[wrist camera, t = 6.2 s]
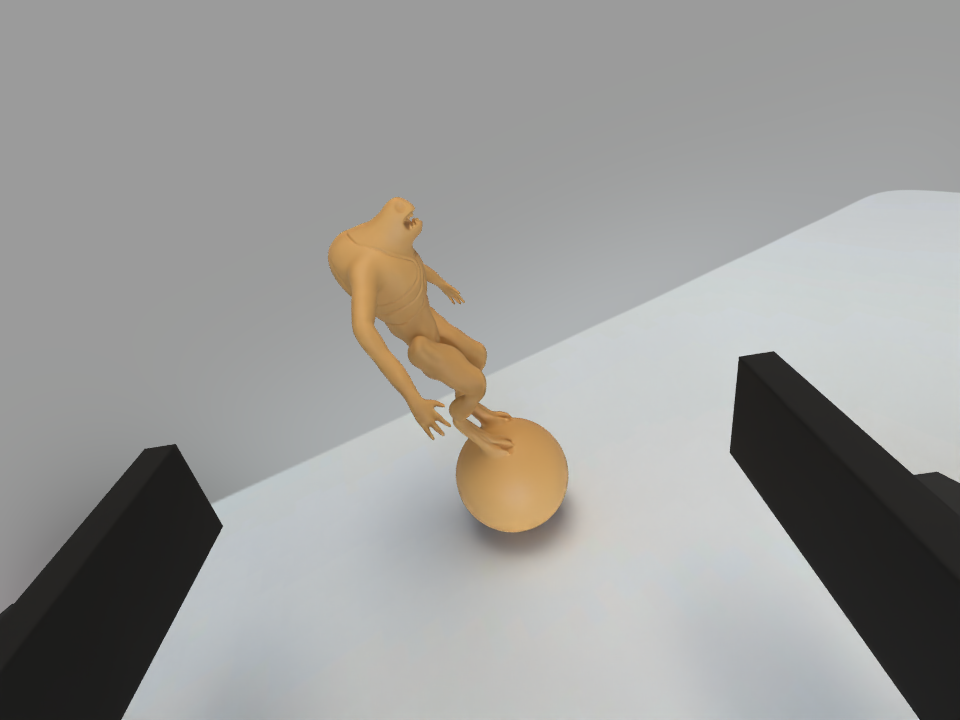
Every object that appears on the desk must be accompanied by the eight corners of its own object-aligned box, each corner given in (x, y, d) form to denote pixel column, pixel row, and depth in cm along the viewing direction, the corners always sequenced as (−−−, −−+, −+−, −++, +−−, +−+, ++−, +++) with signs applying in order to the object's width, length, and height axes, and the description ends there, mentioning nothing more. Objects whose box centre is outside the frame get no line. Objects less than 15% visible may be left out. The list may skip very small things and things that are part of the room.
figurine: (590, 610, 15) (553, 212, 10) (397, 626, 16) (252, 261, 10) (559, 437, 23) (526, 151, 17) (426, 453, 23) (350, 182, 17)
